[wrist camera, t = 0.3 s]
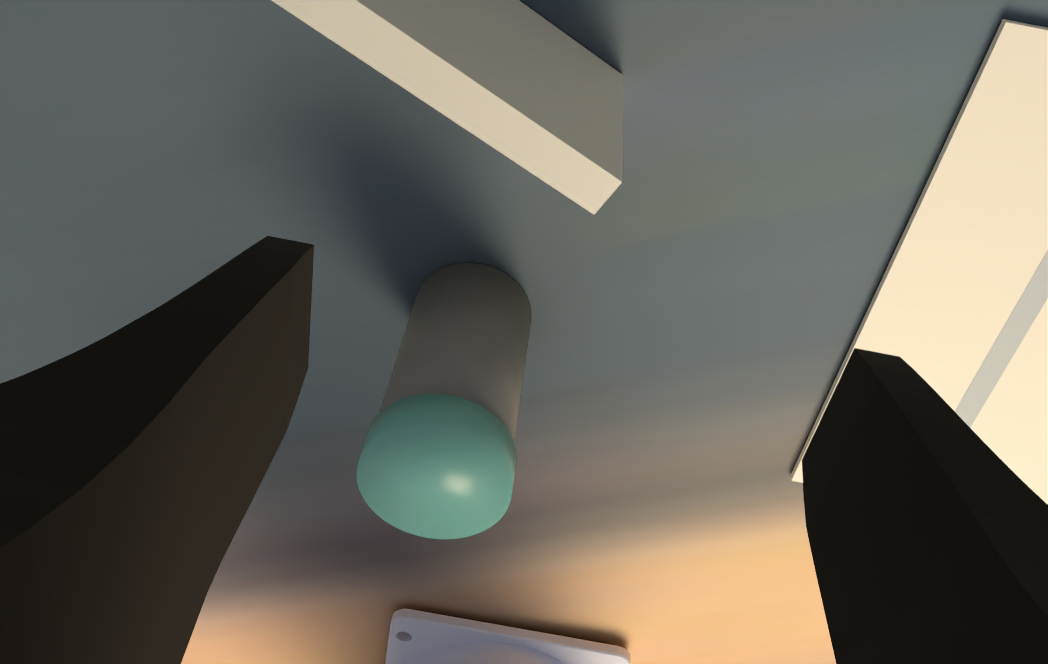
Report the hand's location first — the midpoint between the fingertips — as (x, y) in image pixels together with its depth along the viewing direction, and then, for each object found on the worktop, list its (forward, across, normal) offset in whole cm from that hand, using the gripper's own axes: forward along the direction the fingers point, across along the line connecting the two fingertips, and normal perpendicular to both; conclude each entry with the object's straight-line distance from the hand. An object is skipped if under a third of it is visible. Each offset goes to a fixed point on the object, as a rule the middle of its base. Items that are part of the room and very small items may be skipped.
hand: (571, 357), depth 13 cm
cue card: (+10, +3, -2) cm, 10 cm away
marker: (+10, +2, +6) cm, 12 cm away
